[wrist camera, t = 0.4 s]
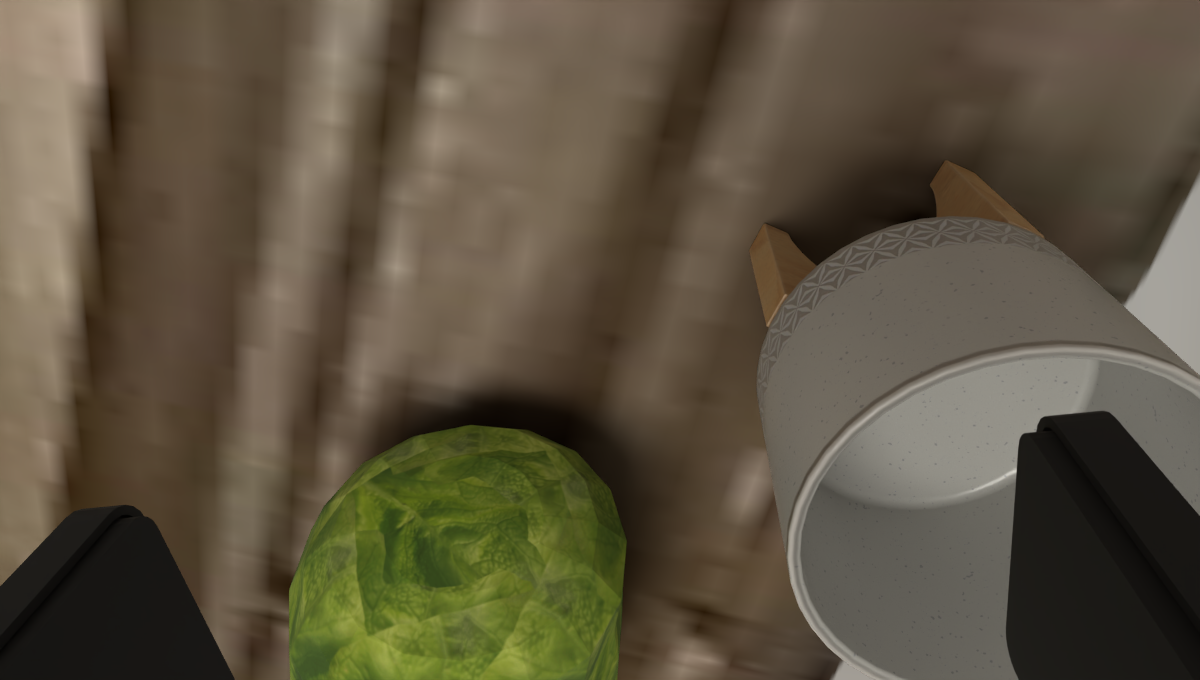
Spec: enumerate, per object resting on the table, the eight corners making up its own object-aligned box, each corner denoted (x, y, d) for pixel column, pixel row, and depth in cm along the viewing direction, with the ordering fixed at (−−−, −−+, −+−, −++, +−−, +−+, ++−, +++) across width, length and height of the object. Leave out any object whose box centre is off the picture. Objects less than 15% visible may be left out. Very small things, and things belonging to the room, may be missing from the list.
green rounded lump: (356, 600, 55) (322, 870, 45) (271, 390, 40) (189, 725, 30) (605, 584, 56) (628, 844, 46) (613, 374, 41) (652, 691, 31)
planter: (827, 105, 36) (951, 269, 21) (1087, 224, 38) (1386, 460, 22) (694, 349, 42) (711, 623, 26) (924, 443, 44) (1069, 753, 28)
